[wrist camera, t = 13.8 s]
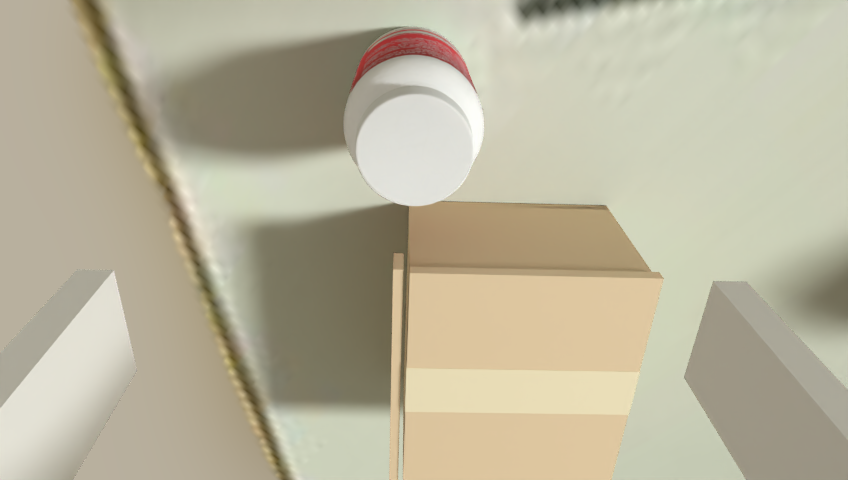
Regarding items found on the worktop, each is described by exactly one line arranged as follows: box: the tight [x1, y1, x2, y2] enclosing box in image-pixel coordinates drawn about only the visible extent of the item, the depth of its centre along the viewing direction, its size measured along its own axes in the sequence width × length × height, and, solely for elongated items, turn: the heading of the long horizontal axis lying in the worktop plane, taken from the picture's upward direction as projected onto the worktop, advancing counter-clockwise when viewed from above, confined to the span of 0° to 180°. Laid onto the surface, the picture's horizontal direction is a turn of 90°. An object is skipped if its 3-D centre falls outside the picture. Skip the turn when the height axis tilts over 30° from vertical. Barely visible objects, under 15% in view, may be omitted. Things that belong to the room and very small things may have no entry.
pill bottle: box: [343, 27, 484, 206], centre depth 29 cm, size 6×6×11 cm
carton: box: [403, 201, 651, 461], centre depth 37 cm, size 14×12×8 cm
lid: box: [389, 253, 664, 480], centre depth 33 cm, size 14×13×2 cm
